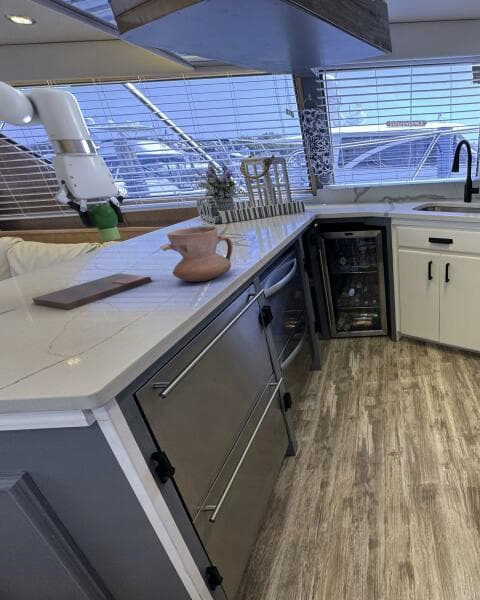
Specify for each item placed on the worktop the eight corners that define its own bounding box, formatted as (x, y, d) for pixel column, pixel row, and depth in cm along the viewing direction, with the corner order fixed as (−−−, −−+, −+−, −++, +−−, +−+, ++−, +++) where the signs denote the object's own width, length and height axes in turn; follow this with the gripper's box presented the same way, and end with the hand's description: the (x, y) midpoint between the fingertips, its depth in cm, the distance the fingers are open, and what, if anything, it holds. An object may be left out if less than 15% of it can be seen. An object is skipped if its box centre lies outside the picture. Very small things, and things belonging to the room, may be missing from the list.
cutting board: (69, 309, 77) (65, 303, 76) (34, 303, 81) (31, 297, 80) (152, 281, 94) (150, 275, 93) (120, 277, 98) (118, 272, 98)
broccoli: (107, 242, 83) (93, 206, 79) (90, 241, 85) (74, 206, 81) (132, 236, 88) (119, 202, 84) (114, 236, 90) (101, 203, 86)
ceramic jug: (179, 291, 85) (162, 238, 79) (167, 279, 94) (150, 231, 89) (248, 274, 96) (237, 226, 91) (231, 265, 106) (219, 222, 100)
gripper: (104, 150, 86) (130, 219, 93) (18, 150, 71) (56, 231, 78) (123, 149, 84) (148, 219, 91) (38, 148, 69) (75, 231, 76)
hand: (105, 224), depth 85 cm, fingers closed on broccoli, 5 cm apart
